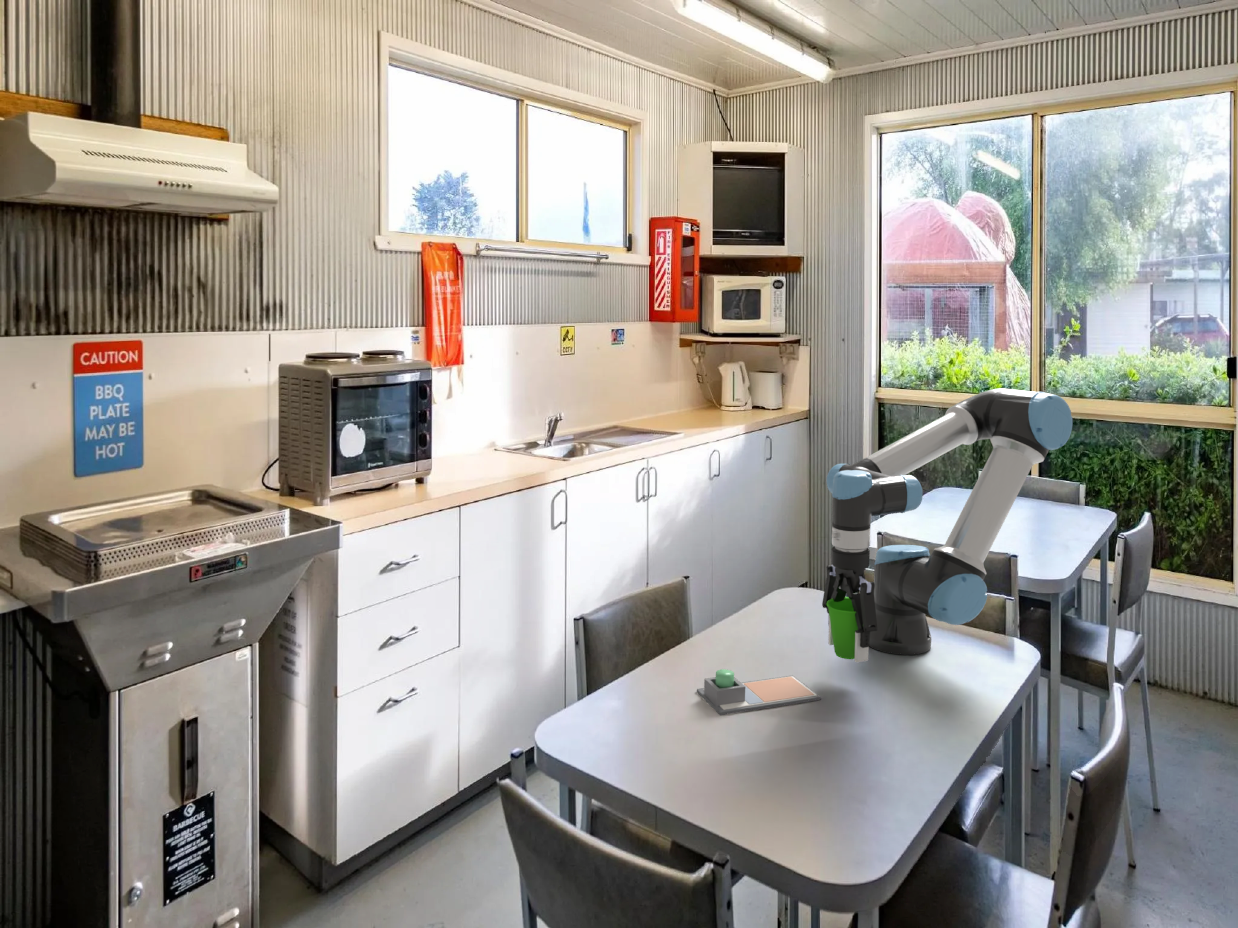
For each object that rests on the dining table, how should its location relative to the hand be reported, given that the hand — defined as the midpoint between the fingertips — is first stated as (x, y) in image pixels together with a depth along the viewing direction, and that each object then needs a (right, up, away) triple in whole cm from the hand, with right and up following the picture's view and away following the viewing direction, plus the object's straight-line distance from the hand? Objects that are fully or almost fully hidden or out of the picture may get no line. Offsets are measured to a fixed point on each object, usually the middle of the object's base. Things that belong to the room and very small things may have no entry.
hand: (847, 651), depth 184 cm
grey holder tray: (-20, -7, -6) cm, 22 cm away
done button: (-27, -5, -9) cm, 29 cm away
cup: (0, -1, 0) cm, 1 cm away
